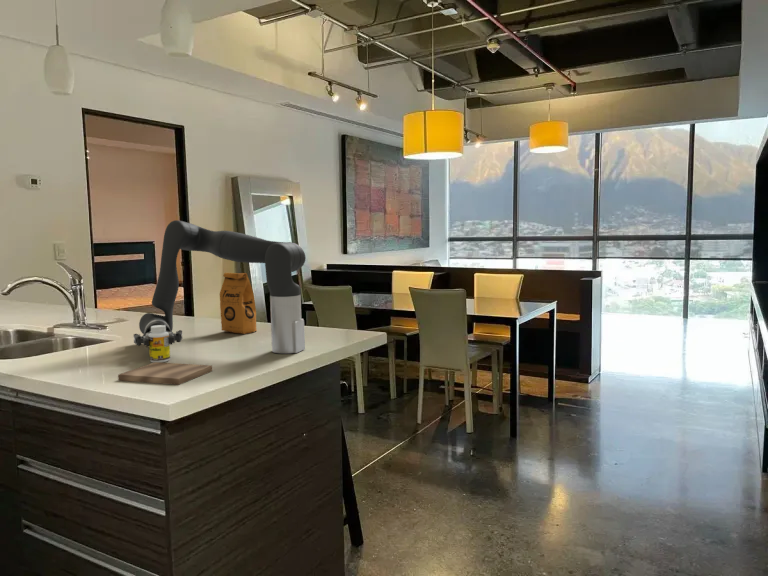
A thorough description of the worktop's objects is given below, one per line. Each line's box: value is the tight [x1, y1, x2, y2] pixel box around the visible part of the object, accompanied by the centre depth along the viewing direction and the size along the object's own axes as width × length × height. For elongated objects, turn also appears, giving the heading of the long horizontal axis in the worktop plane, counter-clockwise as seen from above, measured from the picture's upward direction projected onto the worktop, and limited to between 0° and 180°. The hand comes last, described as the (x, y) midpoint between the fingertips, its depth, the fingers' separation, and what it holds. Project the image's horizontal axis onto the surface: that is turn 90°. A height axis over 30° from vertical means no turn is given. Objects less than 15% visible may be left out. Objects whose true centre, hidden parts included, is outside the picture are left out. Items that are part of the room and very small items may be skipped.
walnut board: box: [117, 362, 213, 386], centre depth 150 cm, size 18×14×2 cm
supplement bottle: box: [148, 325, 171, 363], centre depth 167 cm, size 6×6×10 cm
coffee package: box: [219, 272, 257, 335], centre depth 213 cm, size 10×12×22 cm
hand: (159, 342), depth 165 cm, fingers closed on supplement bottle, 5 cm apart
